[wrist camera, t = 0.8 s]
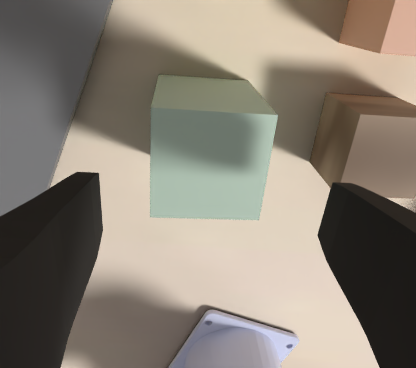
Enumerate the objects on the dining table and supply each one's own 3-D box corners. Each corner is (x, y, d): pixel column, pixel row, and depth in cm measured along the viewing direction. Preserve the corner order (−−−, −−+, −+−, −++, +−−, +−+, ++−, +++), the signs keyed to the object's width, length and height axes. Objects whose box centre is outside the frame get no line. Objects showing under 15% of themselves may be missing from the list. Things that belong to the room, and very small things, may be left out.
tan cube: (373, 164, 21) (414, 198, 17) (309, 161, 20) (336, 195, 17) (396, 97, 19) (447, 119, 15) (325, 92, 18) (360, 114, 15)
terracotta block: (413, 48, 18) (472, 60, 14) (338, 42, 17) (379, 53, 14) (444, -45, 16) (521, -58, 12) (361, -55, 15) (416, -71, 12)
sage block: (237, 161, 20) (259, 220, 14) (157, 157, 19) (149, 217, 14) (247, 80, 18) (278, 115, 12) (158, 74, 17) (150, 107, 12)
